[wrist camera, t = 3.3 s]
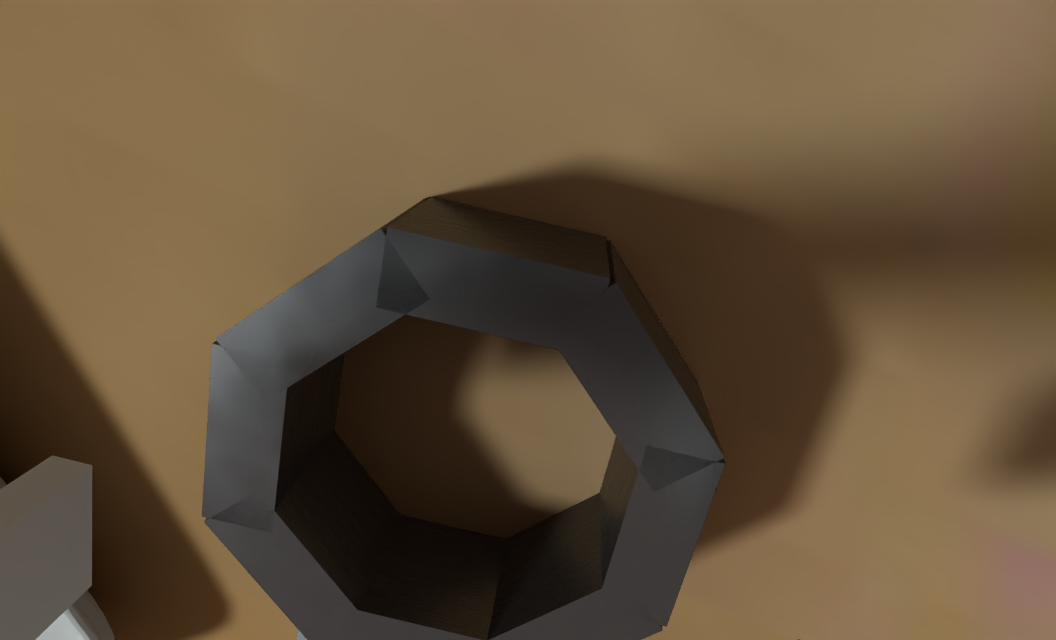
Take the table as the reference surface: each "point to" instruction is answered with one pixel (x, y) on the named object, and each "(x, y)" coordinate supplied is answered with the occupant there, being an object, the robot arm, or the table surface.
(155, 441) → the table surface
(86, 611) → the salad plate
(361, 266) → the ring
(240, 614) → the table surface
